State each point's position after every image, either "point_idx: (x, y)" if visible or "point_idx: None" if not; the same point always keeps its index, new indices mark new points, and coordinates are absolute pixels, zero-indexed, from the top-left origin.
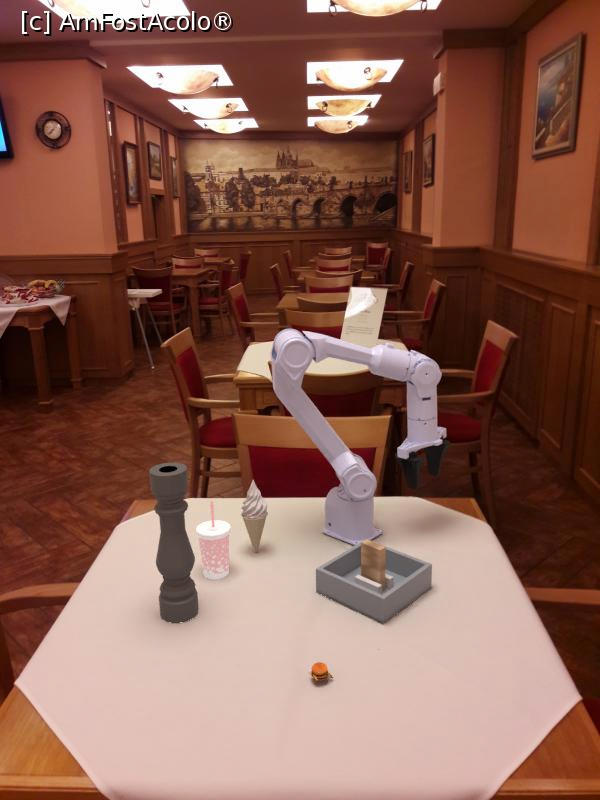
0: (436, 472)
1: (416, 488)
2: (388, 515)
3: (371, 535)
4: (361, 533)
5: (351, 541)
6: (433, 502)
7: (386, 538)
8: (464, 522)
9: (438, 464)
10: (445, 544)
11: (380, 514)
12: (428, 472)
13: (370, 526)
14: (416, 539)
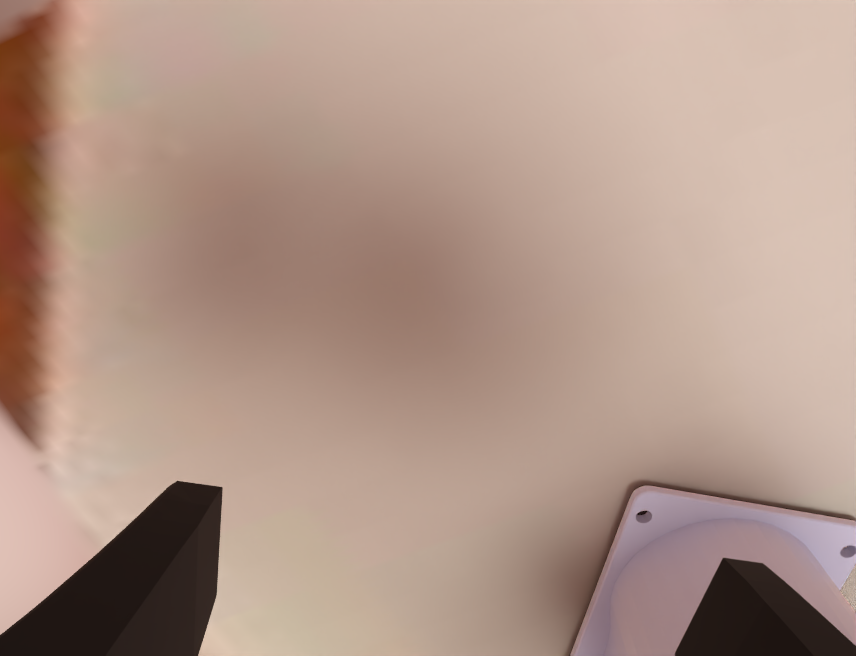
0: (203, 538)
1: (768, 568)
2: (387, 536)
3: (735, 521)
4: (825, 575)
5: (840, 576)
6: (39, 384)
7: (686, 441)
8: (188, 73)
9: (132, 642)
10: (617, 74)
11: (399, 574)
12: (207, 617)
13: (779, 571)
14: (625, 284)
